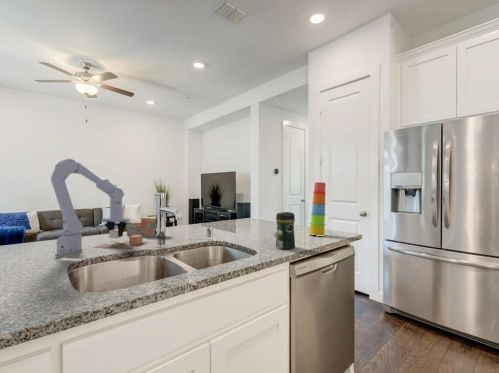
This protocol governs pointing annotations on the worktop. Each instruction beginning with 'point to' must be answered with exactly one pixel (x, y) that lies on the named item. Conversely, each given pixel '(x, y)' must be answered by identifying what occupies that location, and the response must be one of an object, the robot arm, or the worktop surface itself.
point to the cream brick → (114, 233)
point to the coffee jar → (285, 230)
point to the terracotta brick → (135, 239)
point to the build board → (120, 245)
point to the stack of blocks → (142, 227)
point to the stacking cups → (318, 209)
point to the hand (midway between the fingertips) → (116, 236)
